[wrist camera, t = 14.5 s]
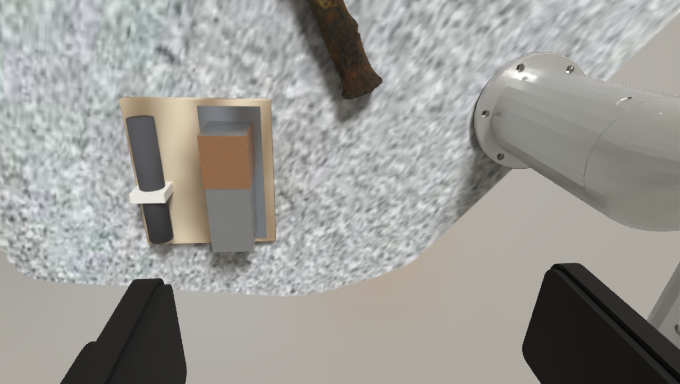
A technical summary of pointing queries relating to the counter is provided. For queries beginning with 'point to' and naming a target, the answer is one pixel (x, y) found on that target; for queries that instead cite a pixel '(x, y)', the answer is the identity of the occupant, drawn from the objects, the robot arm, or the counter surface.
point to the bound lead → (150, 178)
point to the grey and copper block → (229, 184)
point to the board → (184, 162)
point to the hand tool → (345, 47)
